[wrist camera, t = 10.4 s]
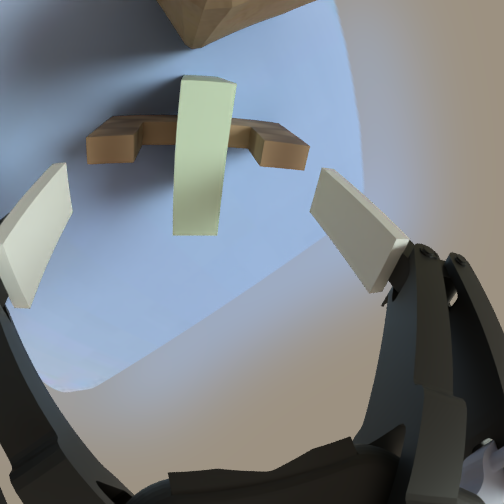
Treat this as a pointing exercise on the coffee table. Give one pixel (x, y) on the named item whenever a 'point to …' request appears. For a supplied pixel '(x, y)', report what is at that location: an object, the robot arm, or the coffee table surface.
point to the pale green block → (201, 153)
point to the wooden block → (220, 16)
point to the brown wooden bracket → (164, 133)
